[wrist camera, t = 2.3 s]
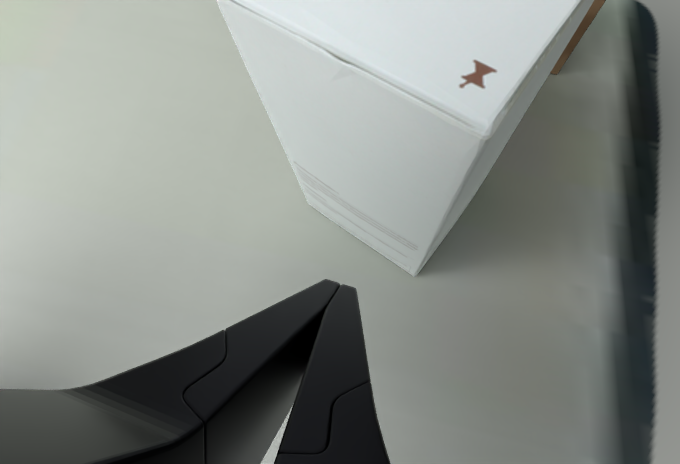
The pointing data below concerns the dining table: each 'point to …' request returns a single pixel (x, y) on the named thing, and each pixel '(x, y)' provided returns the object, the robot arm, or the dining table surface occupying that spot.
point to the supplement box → (398, 101)
